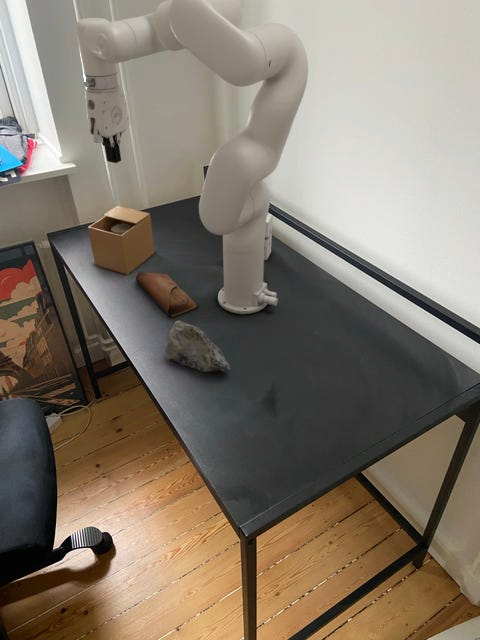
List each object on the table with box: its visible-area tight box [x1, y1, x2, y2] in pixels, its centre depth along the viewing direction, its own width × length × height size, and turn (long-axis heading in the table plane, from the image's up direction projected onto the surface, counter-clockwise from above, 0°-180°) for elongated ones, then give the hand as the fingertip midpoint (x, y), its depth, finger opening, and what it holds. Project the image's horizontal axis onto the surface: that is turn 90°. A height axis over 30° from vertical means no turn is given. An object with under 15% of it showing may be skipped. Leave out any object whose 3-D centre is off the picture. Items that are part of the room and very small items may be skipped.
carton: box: [87, 214, 156, 275], centre depth 140 cm, size 13×11×11 cm
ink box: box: [264, 213, 274, 261], centre depth 142 cm, size 9×5×12 cm, turn 73°
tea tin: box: [111, 224, 131, 235], centre depth 140 cm, size 5×5×9 cm
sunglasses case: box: [135, 271, 198, 318], centre depth 128 cm, size 18×7×7 cm
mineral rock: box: [165, 320, 232, 373], centre depth 105 cm, size 13×11×10 cm
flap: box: [103, 205, 151, 224], centre depth 138 cm, size 6×11×1 cm, turn 63°
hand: (114, 161), depth 128 cm, fingers closed
